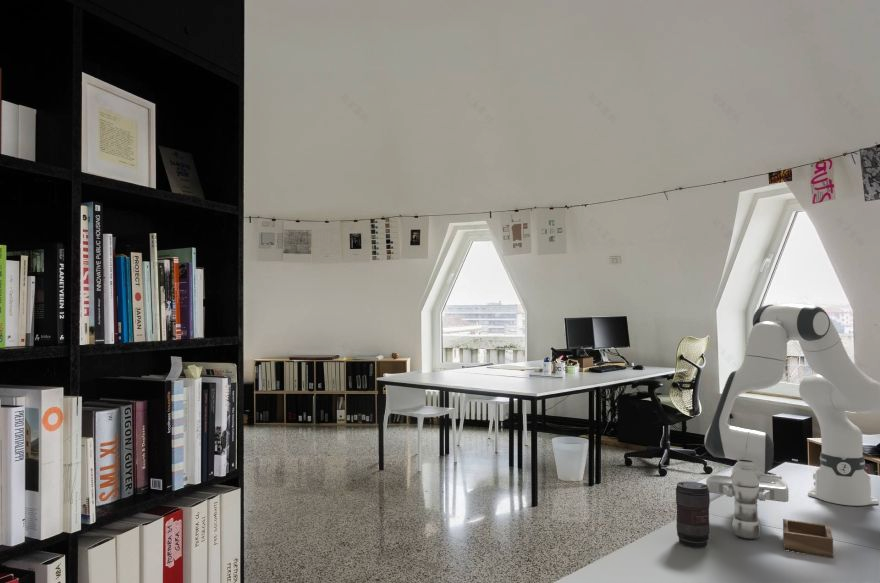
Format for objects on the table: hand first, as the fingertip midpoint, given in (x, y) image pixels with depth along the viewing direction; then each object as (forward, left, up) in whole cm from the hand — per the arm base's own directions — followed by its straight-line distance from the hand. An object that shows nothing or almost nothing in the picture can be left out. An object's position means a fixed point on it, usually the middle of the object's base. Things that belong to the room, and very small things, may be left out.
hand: (745, 495), depth 169 cm
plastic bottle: (-1, 0, -11) cm, 11 cm away
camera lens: (+10, -12, -11) cm, 19 cm away
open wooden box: (-1, +14, -11) cm, 18 cm away
